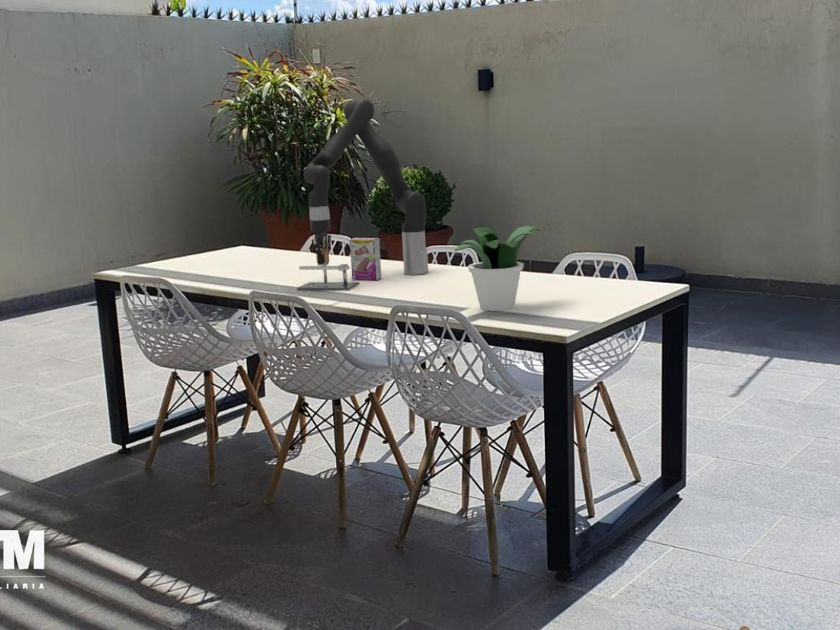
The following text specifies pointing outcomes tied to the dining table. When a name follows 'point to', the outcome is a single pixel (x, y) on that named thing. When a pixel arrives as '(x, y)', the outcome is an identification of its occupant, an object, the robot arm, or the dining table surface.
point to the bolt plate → (329, 285)
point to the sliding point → (326, 262)
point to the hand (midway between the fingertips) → (323, 263)
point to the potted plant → (496, 267)
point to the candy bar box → (365, 258)
